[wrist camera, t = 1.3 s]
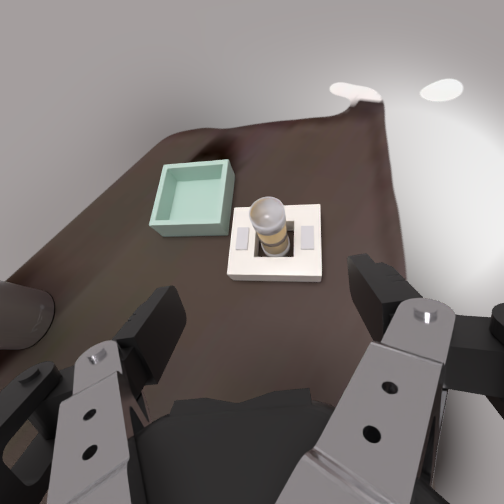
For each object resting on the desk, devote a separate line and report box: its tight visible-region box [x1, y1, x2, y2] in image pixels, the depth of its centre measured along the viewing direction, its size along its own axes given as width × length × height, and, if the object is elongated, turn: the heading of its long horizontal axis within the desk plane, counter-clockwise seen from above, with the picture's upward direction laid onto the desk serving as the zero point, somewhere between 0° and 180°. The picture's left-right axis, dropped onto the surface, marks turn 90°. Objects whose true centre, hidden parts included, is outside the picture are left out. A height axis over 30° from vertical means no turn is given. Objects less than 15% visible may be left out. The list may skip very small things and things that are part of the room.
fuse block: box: [227, 204, 322, 282], centre depth 35 cm, size 12×10×3 cm
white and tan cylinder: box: [249, 197, 290, 257], centre depth 32 cm, size 4×4×10 cm
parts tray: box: [149, 160, 235, 237], centre depth 40 cm, size 11×11×4 cm
